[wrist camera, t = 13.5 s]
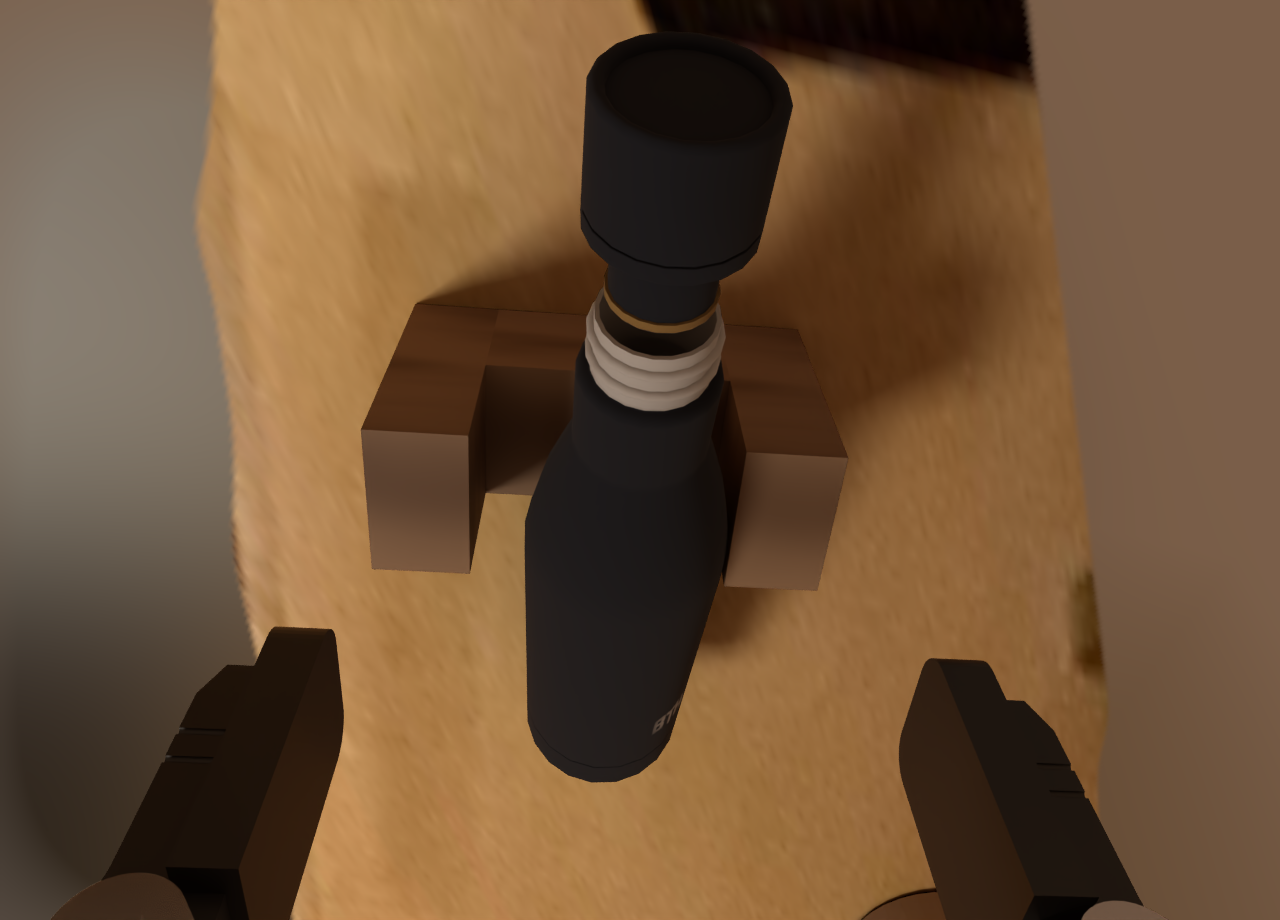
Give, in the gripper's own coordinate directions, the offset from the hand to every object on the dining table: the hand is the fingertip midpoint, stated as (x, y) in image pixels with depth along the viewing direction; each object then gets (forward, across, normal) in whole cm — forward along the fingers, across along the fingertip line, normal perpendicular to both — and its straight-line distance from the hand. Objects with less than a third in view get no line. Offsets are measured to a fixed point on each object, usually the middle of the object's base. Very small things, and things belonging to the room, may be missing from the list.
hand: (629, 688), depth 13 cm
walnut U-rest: (+23, 0, +7) cm, 24 cm away
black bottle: (+20, -1, +22) cm, 30 cm away
